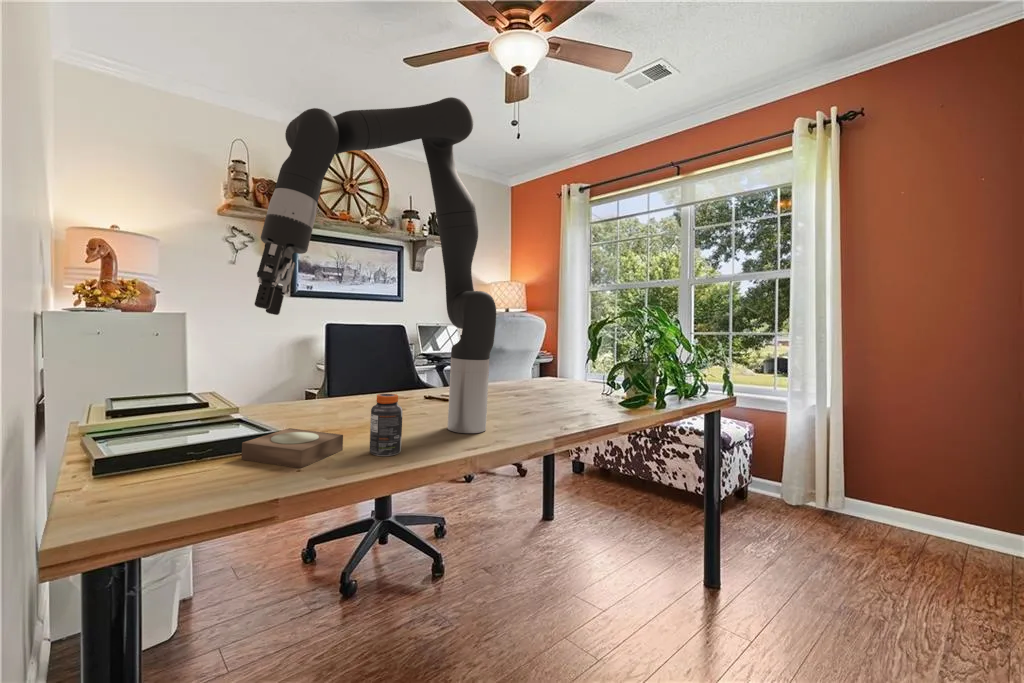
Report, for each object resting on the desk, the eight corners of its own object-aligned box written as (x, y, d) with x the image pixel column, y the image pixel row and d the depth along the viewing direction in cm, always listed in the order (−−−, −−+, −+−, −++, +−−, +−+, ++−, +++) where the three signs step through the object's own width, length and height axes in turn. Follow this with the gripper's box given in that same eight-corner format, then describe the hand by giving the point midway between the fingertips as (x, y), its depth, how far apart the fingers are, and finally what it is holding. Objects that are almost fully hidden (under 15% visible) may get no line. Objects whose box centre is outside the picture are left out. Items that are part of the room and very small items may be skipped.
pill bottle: (405, 449, 94) (407, 393, 94) (394, 458, 88) (397, 397, 88) (376, 447, 95) (378, 391, 94) (364, 455, 89) (366, 395, 88)
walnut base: (289, 443, 94) (289, 427, 94) (342, 450, 91) (343, 433, 91) (241, 459, 82) (242, 441, 82) (301, 468, 80) (301, 449, 79)
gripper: (307, 214, 77) (283, 311, 75) (317, 238, 90) (296, 320, 88) (257, 201, 75) (231, 300, 73) (274, 227, 88) (253, 311, 86)
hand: (267, 311), depth 81 cm, fingers open, 8 cm apart
